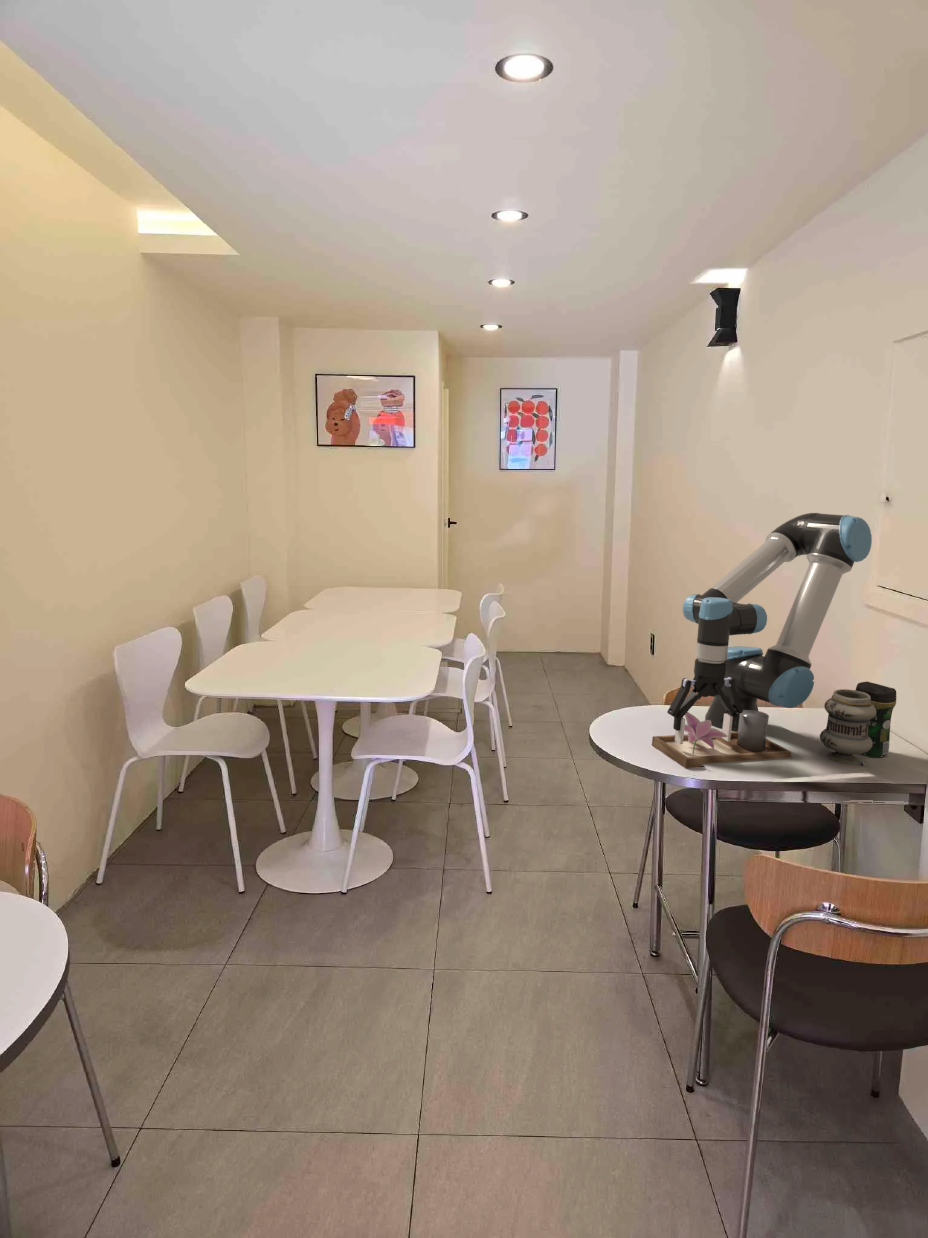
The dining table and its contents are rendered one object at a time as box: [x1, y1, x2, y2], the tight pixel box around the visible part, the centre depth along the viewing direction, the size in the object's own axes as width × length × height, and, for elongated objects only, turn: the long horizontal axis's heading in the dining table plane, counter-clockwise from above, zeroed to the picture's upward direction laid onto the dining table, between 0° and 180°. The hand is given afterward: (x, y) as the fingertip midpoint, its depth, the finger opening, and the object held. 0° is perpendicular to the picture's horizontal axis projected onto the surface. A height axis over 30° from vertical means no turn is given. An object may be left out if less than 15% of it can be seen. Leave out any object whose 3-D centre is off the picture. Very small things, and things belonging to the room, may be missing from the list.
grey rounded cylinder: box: [737, 710, 769, 752], centre depth 206 cm, size 7×7×9 cm
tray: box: [651, 731, 793, 769], centre depth 205 cm, size 30×16×2 cm, turn 106°
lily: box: [684, 711, 728, 753], centre depth 202 cm, size 12×12×10 cm
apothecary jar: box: [819, 688, 876, 767], centre depth 201 cm, size 12×12×18 cm
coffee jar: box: [855, 680, 897, 758], centre depth 209 cm, size 10×8×19 cm
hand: (702, 741), depth 203 cm, fingers open, 13 cm apart
